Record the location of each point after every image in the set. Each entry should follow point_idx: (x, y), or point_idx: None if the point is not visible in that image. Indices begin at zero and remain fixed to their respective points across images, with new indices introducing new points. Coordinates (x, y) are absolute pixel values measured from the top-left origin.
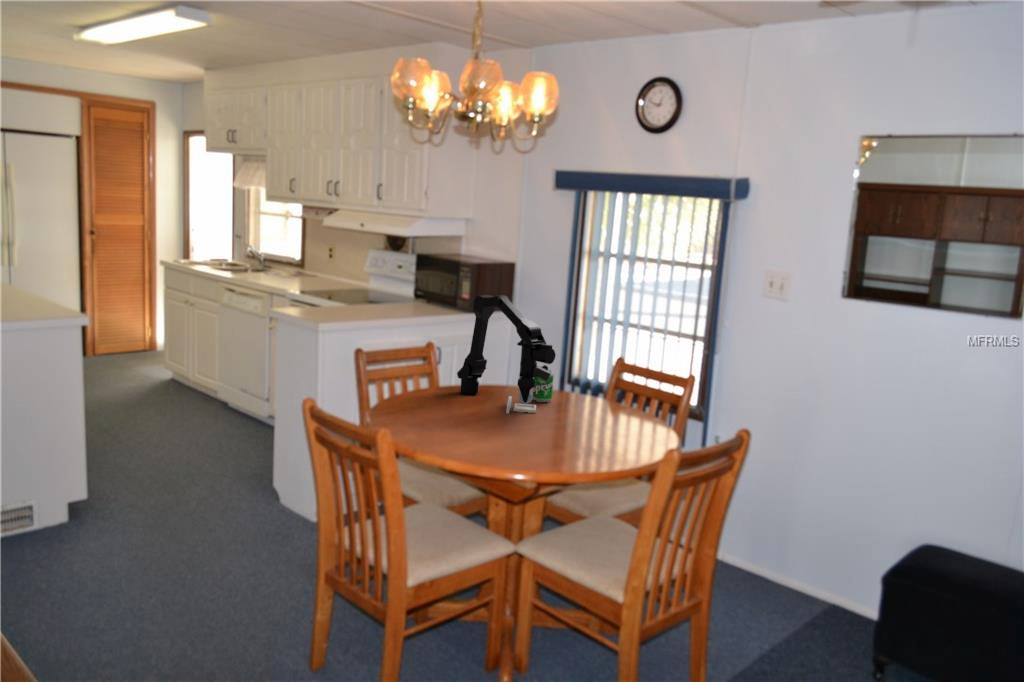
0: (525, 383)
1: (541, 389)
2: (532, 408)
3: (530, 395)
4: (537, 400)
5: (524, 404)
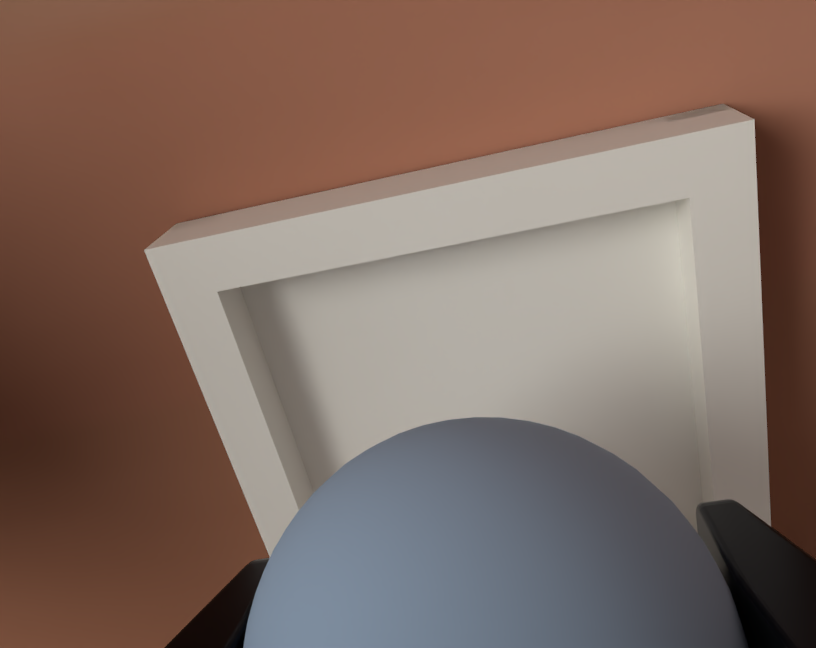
0: None
1: None
2: (369, 276)
3: (646, 593)
4: None
5: (291, 494)
